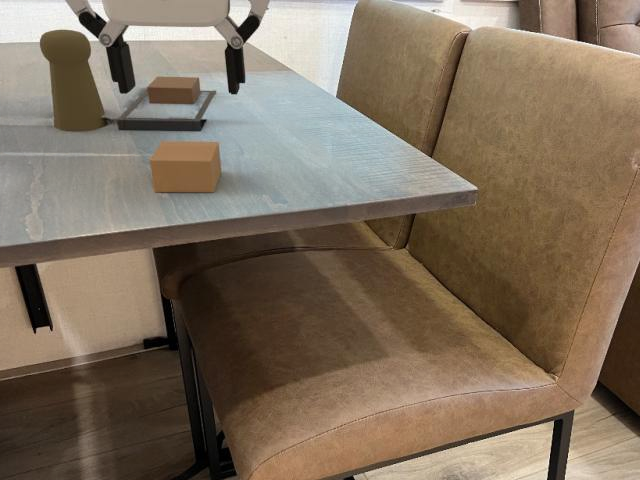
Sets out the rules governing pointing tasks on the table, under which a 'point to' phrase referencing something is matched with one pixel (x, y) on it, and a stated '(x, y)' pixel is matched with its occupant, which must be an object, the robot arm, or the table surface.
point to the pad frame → (162, 123)
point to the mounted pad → (174, 90)
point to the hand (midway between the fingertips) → (181, 90)
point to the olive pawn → (72, 82)
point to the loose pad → (186, 166)
